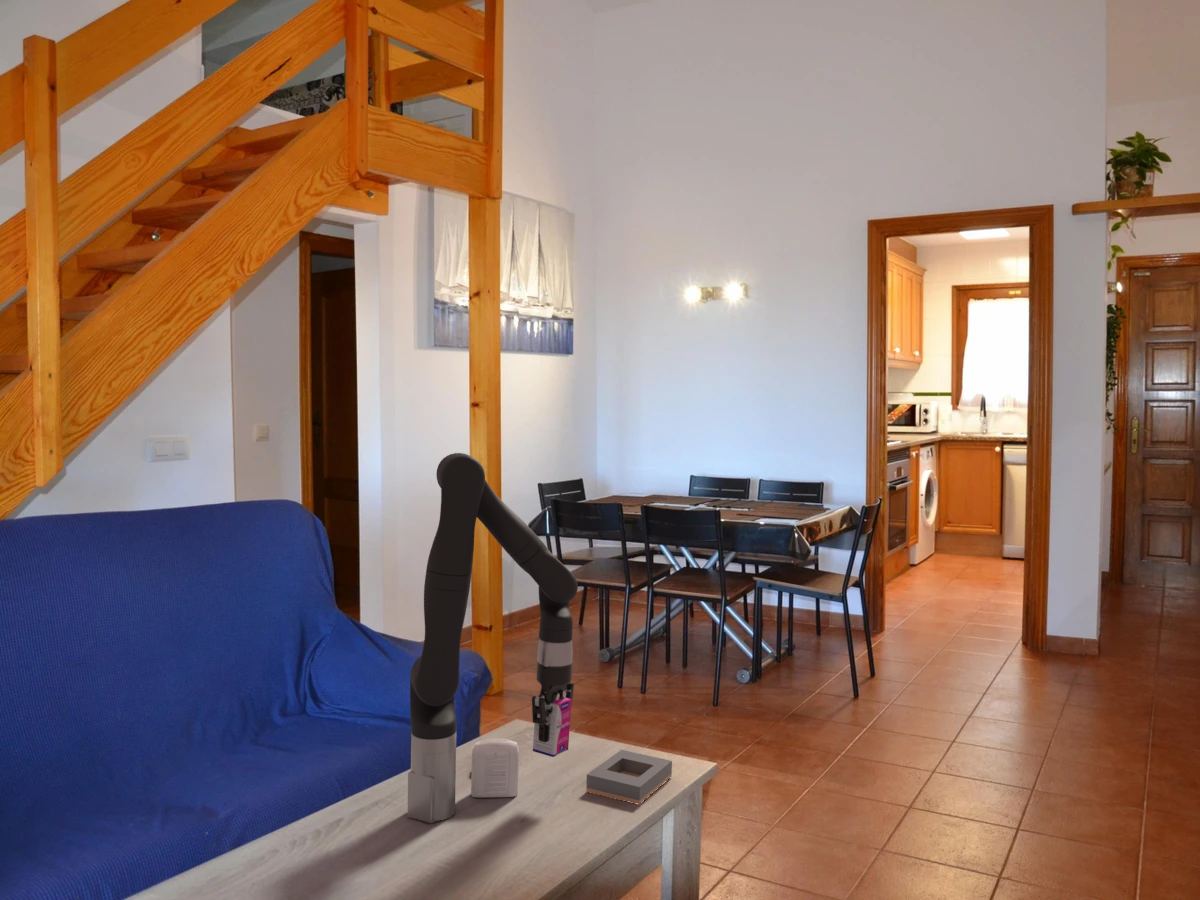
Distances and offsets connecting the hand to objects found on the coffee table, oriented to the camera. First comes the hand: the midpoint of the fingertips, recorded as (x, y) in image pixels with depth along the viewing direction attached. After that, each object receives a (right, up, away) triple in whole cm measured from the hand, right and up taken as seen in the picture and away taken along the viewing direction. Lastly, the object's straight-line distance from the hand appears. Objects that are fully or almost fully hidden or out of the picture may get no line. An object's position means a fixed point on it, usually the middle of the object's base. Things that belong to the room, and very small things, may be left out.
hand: (551, 736), depth 209 cm
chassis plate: (+17, -14, +10) cm, 24 cm away
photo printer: (-13, -14, +3) cm, 19 cm away
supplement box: (0, -3, 0) cm, 3 cm away
